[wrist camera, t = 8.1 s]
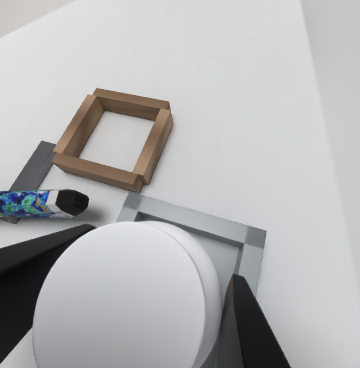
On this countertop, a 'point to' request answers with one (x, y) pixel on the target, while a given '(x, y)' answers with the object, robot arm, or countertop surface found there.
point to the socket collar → (86, 123)
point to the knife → (42, 203)
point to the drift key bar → (33, 172)
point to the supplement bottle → (129, 301)
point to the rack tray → (207, 242)
